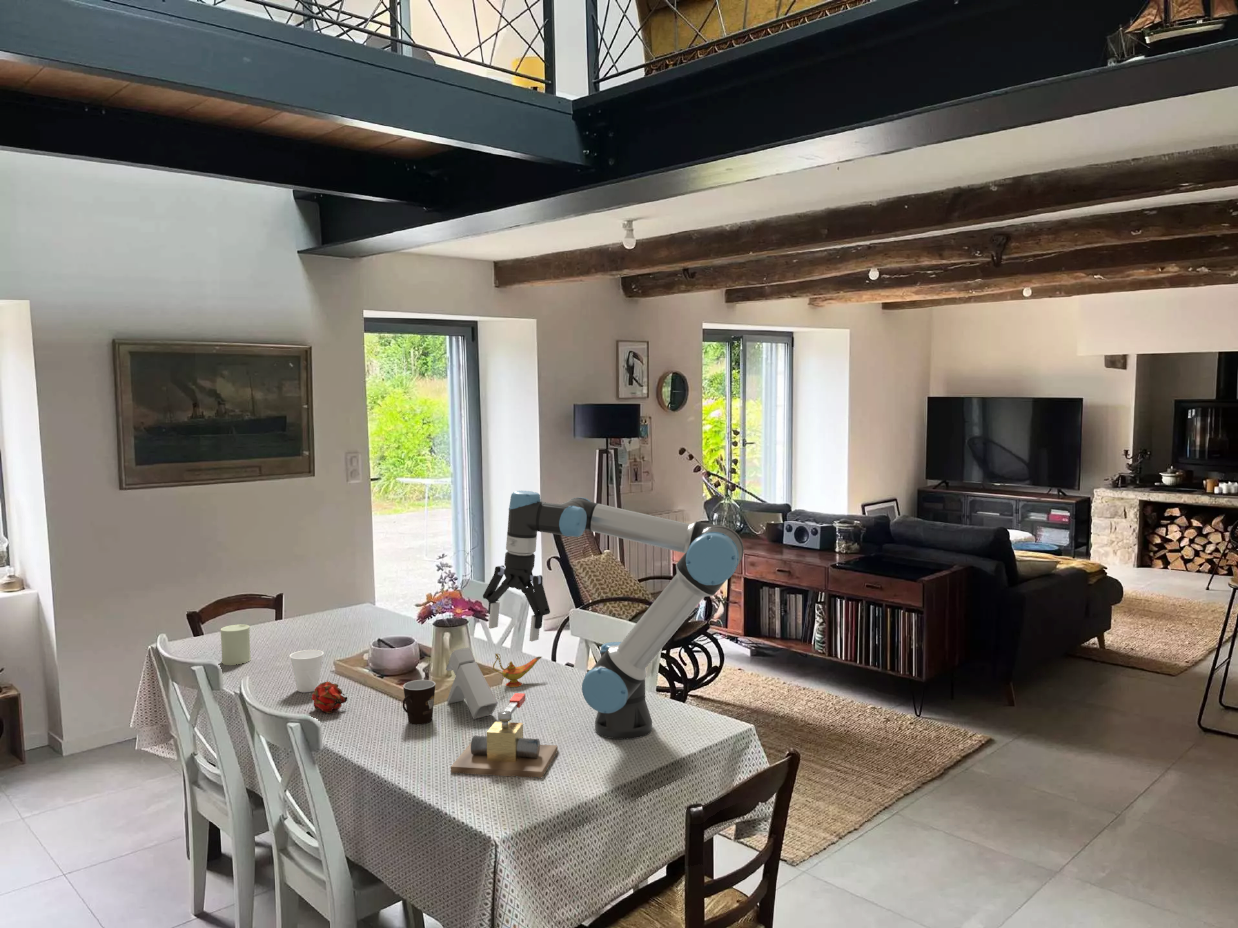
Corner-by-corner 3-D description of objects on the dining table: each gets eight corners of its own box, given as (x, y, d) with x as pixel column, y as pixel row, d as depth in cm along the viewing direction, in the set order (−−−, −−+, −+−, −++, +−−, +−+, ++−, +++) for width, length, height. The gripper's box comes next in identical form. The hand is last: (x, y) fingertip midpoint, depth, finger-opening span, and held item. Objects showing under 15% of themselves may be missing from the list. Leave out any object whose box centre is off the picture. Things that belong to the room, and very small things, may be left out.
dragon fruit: (320, 708, 264) (340, 725, 256) (298, 698, 258) (317, 714, 250) (337, 682, 266) (357, 698, 258) (316, 671, 261) (335, 687, 252)
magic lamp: (548, 679, 284) (548, 645, 283) (499, 692, 272) (498, 656, 271) (536, 674, 289) (535, 640, 288) (487, 686, 278) (486, 651, 277)
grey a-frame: (478, 706, 246) (451, 647, 258) (462, 740, 255) (436, 682, 267) (499, 701, 250) (471, 644, 261) (482, 735, 259) (456, 678, 270)
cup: (305, 696, 270) (304, 660, 269) (283, 691, 275) (282, 655, 274) (332, 687, 278) (330, 652, 277) (310, 682, 283) (309, 647, 283)
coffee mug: (425, 712, 255) (424, 677, 255) (442, 720, 249) (441, 684, 248) (388, 723, 247) (387, 687, 246) (405, 731, 241) (404, 694, 240)
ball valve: (541, 751, 223) (540, 716, 222) (534, 763, 216) (533, 726, 215) (478, 748, 225) (477, 713, 224) (469, 759, 218) (468, 723, 218)
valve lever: (509, 722, 218) (509, 714, 218) (496, 721, 218) (496, 714, 218) (526, 700, 234) (526, 693, 233) (514, 699, 234) (514, 692, 234)
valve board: (557, 751, 227) (557, 745, 227) (542, 777, 211) (541, 771, 211) (472, 746, 230) (472, 740, 230) (450, 772, 214) (450, 766, 214)
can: (257, 659, 309) (255, 625, 308) (232, 666, 301) (231, 631, 300) (240, 655, 314) (238, 621, 313) (215, 662, 306) (214, 627, 305)
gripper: (473, 544, 234) (466, 624, 236) (550, 563, 220) (542, 648, 223) (493, 541, 240) (486, 619, 242) (568, 559, 227) (560, 642, 229)
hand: (513, 633), depth 233 cm, fingers open, 13 cm apart
